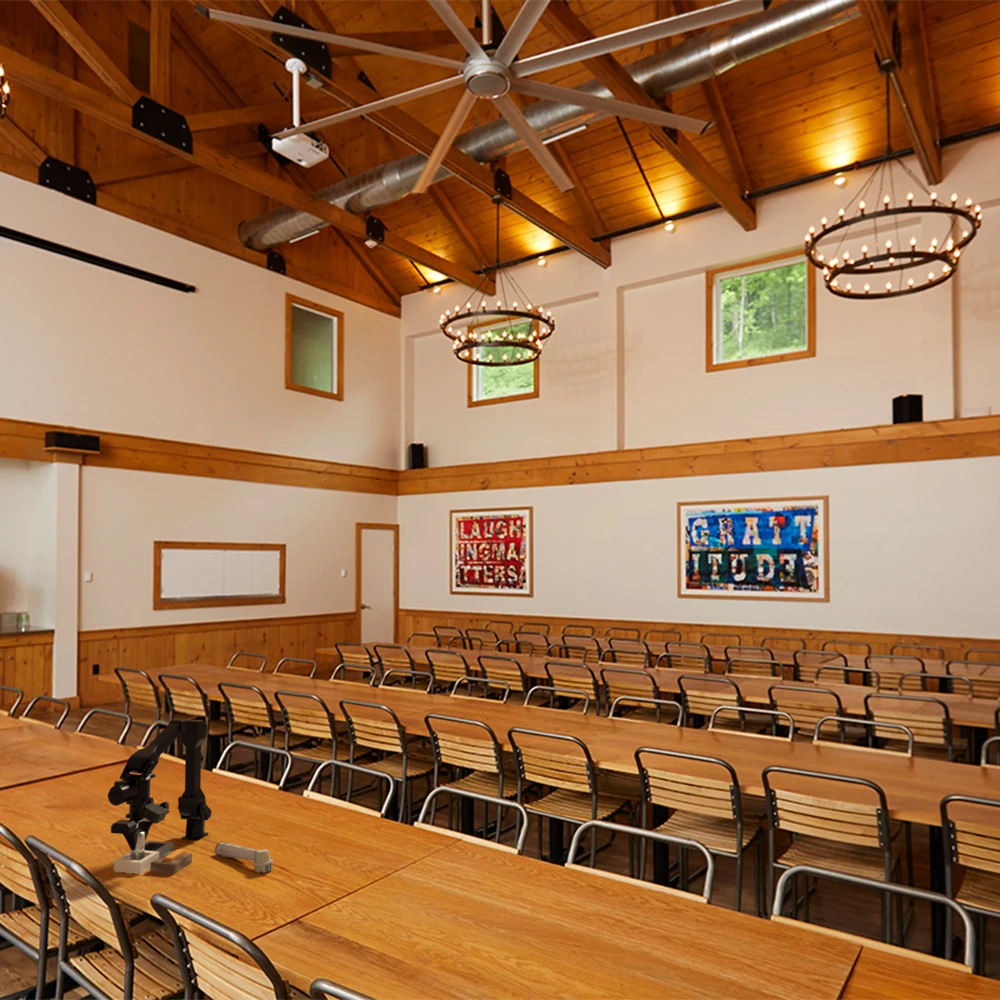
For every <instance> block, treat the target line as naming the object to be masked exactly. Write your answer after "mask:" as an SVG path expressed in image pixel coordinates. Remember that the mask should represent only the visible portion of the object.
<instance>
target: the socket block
mask: <svg viewBox="0 0 1000 1000" xmlns="http://www.w3.org/2000/svg"><path fill="white" fill-rule="evenodd" d="M172 850H173V851H174V842H172V841H171V842H169V841H158V840H157V841H156V840H147V841H145V851H156V852H159V857H161V856H163V855H164V854H166V853H167V852H170V851H171V852H173V851H172Z"/></svg>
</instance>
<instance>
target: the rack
mask: <svg viewBox="0 0 1000 1000" xmlns="http://www.w3.org/2000/svg"><path fill="white" fill-rule="evenodd" d="M158 858H159V852H156V851H155V850H153V851H145V853H144V858H143V859H141V860H130V851H128V852H127V853H125V854H123V855H121V856H120V857H117V858H116V859H114V864H113V872H114V871H116V872H115V873H121V872H125V874H132V873H135V874H134V875H142V874H143V873H145V872H147V871H148V870H150V866H151V862H153V861H154V860H156V859H158Z"/></svg>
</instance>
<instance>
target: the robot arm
mask: <svg viewBox="0 0 1000 1000" xmlns="http://www.w3.org/2000/svg"><path fill="white" fill-rule="evenodd" d="M207 732H208V725H207V723H206V722H205V720H197V719H186V720H185V719H178V718H173V719H171V720H170V721H169V722H168V725H167V726H165V728H164V729H162V730H161V731H160V733H159V734H158V735H157V736H155V738H153V740H152V741H151V742H150V743H149V744H148V745H147V746H145V747H142V748H140V749H138V750H137V751H135V752H134V753H132V754H131V755H130V756H129V757H128V759H127V762H126V764H125V766H124V768H123V770H122V772H121V773H120V776H119V779H120V780H116V781H114V783H113V786H112V787H110V789H109V790H108V793H107V799H108V801H109V803H110V804H111V805H113V806H114V807H115V806H116V807H117V806H120V805H123V804H126V805H129V807H128V813H127V814H125V818H126V819H119V820H117V821H115V822H114V823H112V824H111V825H110V833H111V834H118V835H122V836H123V837H124V839H125V840H126V842H127V845H128V846H129V848H130V849H131V850H133V851H134V850H135V848H136V842H137V834H138V832H139V831H140V830H145V842H147V841H146V840H147V838H148V836H149V833H150V829H151V827H152V826H153V825H154V824H159V823H160V822H162V821H164V820H165V818H166V815H167V814H169V813H170V802H168V801H166V800H164V801H162V802H161V803H155V802H154V797H151V779H154V778H155V777H156V774H155V773H153V771H154V770H155V767H156V766H157V765H158V763H159V760H160V756H161V755H162V754H163V753H164V752H165V751H166V750H167V749H168V748H169V747H170V746H171V745H172V743H173V742H175V740H176V739H177V738H178V737H179V736H180V741H181V742H182V745H183V746H184V749H185V755H184V757H185V759H184V760H185V761H184V762H185V763H184V764H185V765H184V791H183V793H182V794H181V796H179V797H178V798H177V804H178V806H177V810H178V813H179V816H180V819H181V820H185V821H186V822H185V823H186V824H185V835H184V836H182V837H181V840H185V839H190V840H189V841H201V840H202V839H203V838H205V837H206V835H207V836H208V835H209V832H205V826H206V821H208V820H209V819H210V818H211V817H212V809H211V808H210V807H209V806H208V804H207V801H206V795H205V794H204V792H203V790H202V786H201V783H202V782H201V781H202V778H201V777H202V774H201V773H202V771H201V770H202V745H203V743H204V742H205V741H206V738H207ZM204 836H205V837H204ZM201 838H202V839H201Z"/></svg>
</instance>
